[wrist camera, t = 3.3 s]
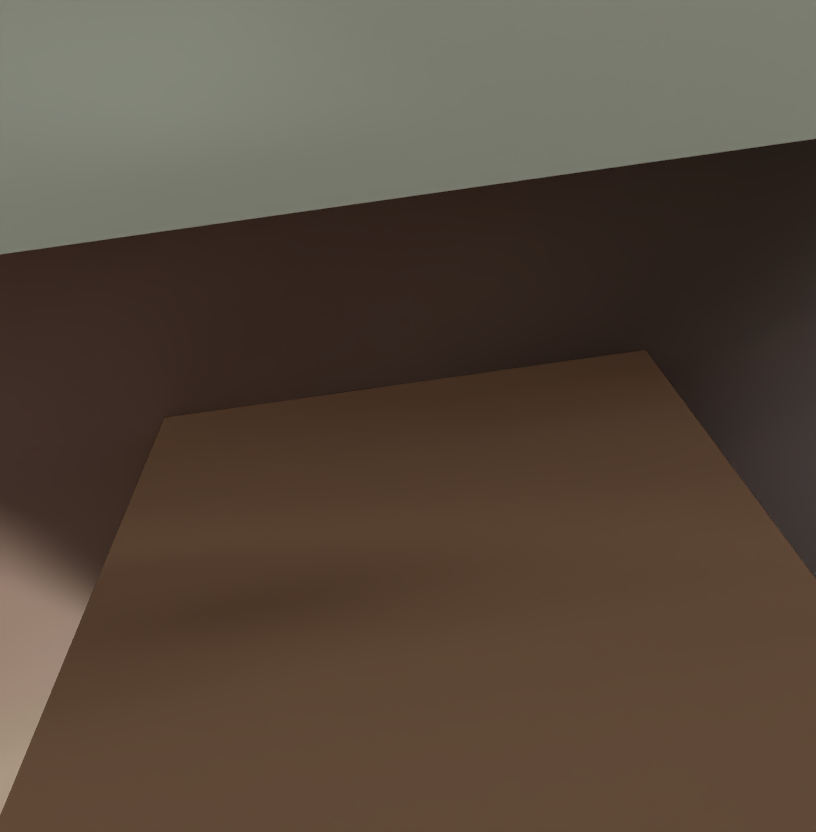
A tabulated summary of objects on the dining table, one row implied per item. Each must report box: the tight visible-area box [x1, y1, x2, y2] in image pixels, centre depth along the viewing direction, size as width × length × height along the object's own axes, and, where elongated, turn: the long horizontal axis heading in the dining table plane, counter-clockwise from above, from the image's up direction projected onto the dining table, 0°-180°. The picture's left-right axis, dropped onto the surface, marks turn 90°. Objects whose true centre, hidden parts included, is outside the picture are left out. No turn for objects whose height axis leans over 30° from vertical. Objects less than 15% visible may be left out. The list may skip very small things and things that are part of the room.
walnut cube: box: [0, 350, 816, 832], centre depth 8 cm, size 6×6×6 cm
